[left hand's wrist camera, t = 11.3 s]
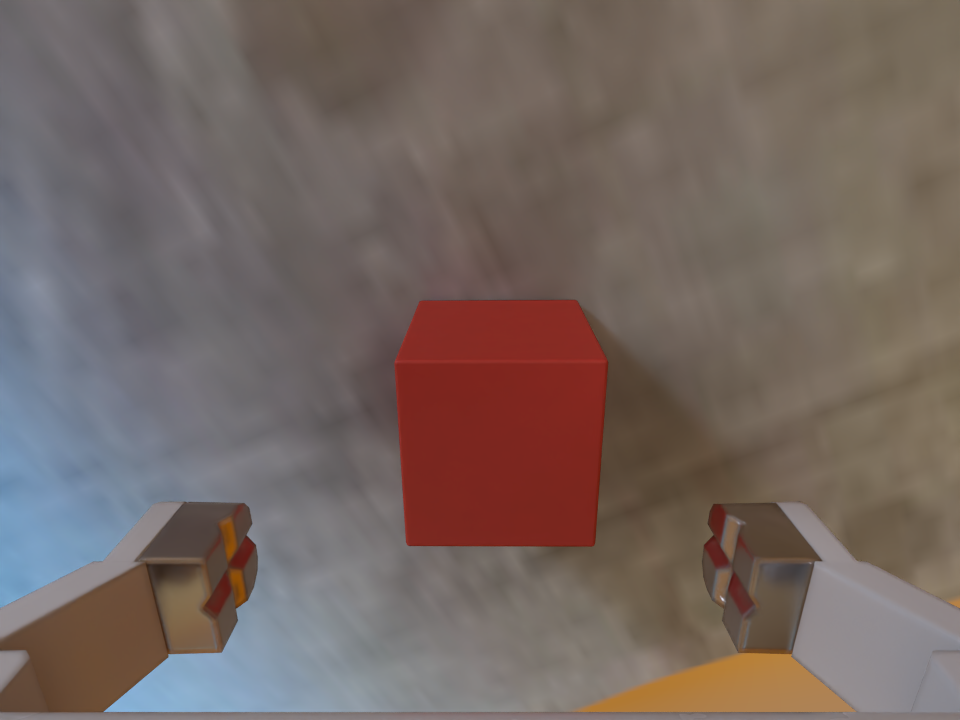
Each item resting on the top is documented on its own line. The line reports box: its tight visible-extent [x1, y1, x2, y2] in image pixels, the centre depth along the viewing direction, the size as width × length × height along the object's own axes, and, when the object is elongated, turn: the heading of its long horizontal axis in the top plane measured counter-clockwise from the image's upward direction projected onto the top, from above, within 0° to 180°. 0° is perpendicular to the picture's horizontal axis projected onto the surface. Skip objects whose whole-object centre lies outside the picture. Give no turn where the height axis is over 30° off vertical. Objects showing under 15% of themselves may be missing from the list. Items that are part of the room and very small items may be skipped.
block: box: [394, 300, 608, 546], centre depth 15 cm, size 5×4×5 cm
